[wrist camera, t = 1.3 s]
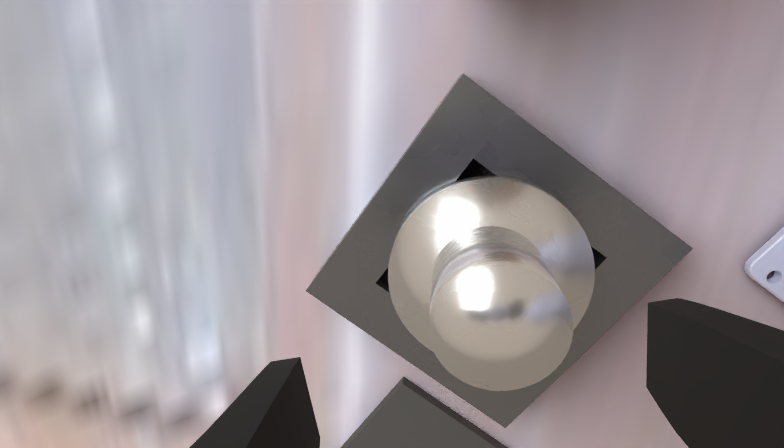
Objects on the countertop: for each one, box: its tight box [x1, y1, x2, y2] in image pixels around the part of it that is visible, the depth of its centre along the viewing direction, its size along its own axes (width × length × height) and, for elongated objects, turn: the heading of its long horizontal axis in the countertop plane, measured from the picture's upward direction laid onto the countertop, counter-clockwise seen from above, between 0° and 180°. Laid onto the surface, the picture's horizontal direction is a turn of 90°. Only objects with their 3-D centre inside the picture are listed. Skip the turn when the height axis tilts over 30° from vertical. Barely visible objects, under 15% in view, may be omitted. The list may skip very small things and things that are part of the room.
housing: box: [306, 74, 693, 428], centre depth 18 cm, size 10×10×2 cm
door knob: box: [388, 175, 595, 391], centre depth 16 cm, size 7×7×6 cm
